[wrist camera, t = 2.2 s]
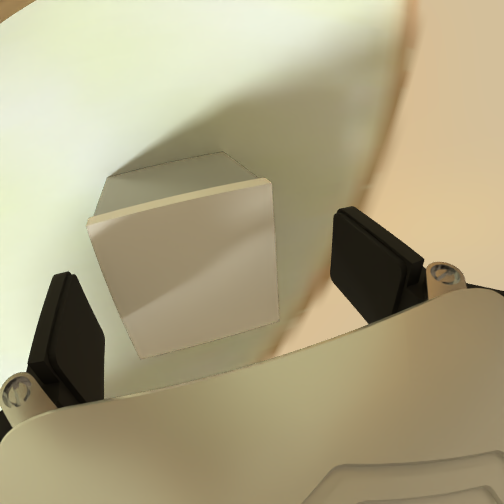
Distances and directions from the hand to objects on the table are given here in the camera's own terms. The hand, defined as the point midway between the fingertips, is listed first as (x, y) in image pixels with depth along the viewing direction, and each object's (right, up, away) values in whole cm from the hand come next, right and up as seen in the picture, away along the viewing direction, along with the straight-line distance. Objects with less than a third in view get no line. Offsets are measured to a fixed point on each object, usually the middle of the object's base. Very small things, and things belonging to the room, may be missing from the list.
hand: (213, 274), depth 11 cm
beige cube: (-3, +3, +6) cm, 7 cm away
